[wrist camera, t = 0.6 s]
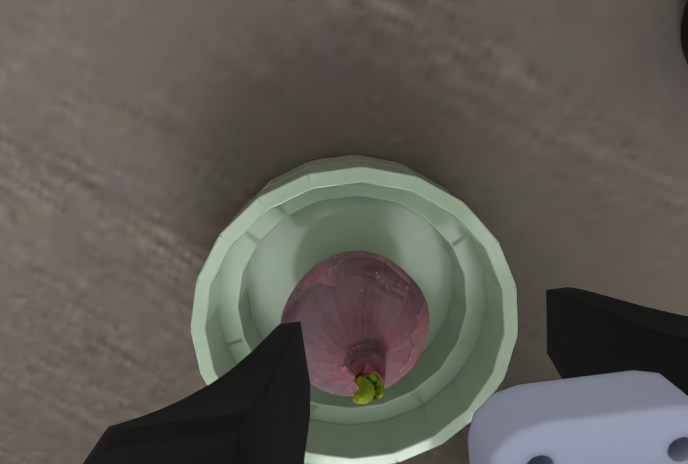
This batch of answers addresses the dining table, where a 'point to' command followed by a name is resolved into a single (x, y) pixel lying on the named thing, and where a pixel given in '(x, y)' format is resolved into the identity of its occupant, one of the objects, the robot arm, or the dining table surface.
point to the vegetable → (358, 323)
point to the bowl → (396, 245)
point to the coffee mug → (685, 32)
